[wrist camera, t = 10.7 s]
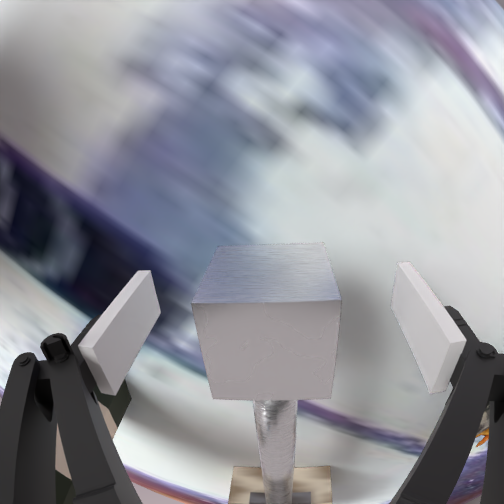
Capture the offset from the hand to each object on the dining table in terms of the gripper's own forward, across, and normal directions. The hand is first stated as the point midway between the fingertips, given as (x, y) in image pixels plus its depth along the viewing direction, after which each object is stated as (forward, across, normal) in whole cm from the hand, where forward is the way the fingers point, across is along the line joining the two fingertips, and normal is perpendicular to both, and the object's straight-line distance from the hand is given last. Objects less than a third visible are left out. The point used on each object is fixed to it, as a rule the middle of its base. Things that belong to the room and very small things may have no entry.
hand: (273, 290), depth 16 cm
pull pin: (0, 0, -10) cm, 10 cm away
